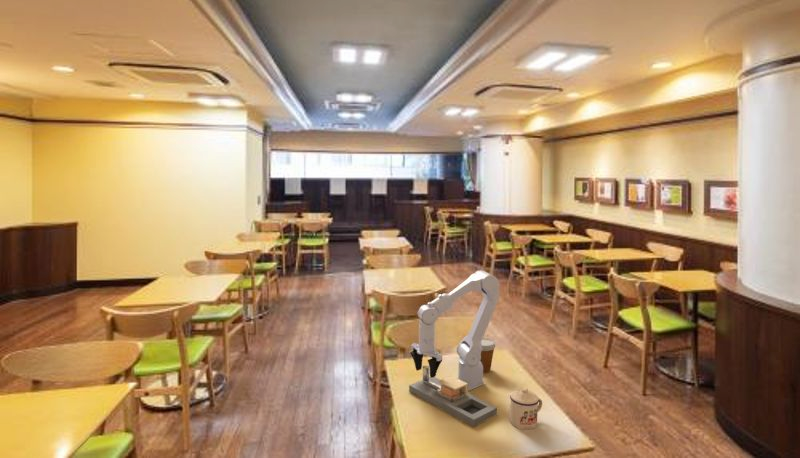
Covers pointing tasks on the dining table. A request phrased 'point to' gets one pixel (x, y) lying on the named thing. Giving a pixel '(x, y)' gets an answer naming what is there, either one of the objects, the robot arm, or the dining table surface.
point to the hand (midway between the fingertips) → (425, 373)
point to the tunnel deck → (463, 408)
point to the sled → (426, 380)
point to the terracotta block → (449, 391)
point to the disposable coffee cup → (487, 354)
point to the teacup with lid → (524, 408)
